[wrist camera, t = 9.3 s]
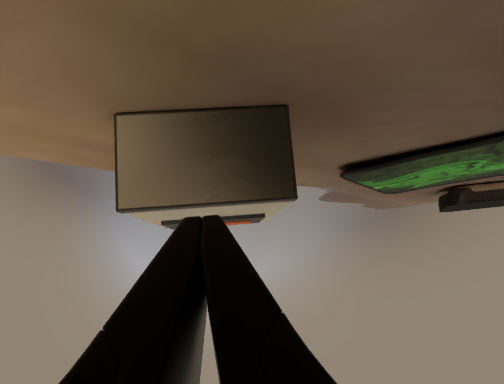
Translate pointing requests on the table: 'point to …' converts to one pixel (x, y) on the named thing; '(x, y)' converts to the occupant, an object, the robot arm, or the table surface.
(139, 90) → the table surface
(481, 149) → the mouse mat
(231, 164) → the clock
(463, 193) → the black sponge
